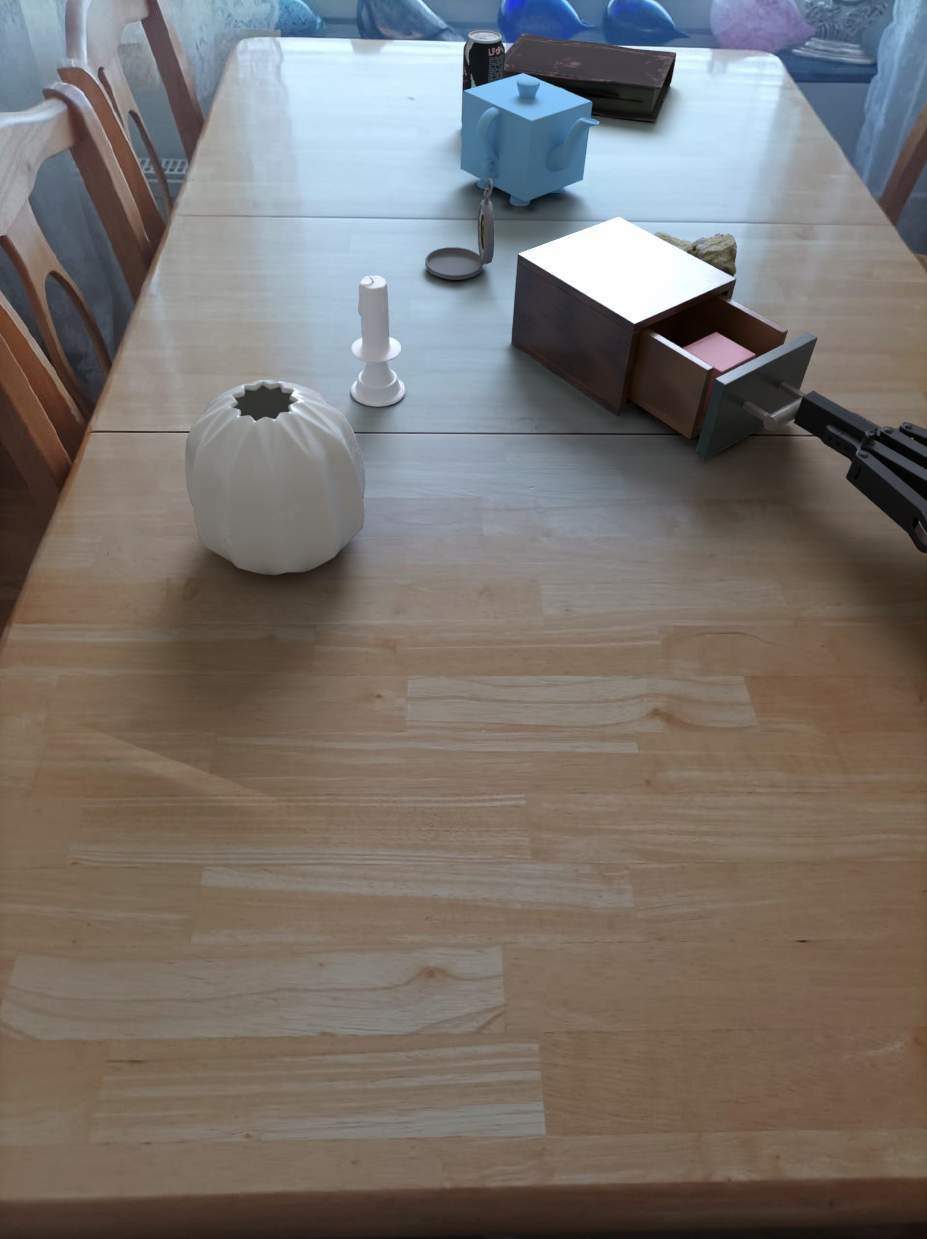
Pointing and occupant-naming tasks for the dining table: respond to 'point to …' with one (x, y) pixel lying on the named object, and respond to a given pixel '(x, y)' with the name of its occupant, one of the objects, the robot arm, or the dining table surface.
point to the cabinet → (603, 302)
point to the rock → (709, 250)
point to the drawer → (738, 397)
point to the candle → (376, 347)
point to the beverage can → (482, 59)
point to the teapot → (524, 136)
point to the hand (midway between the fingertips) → (803, 406)
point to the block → (719, 357)
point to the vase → (274, 478)
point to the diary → (597, 73)
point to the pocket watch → (465, 261)
